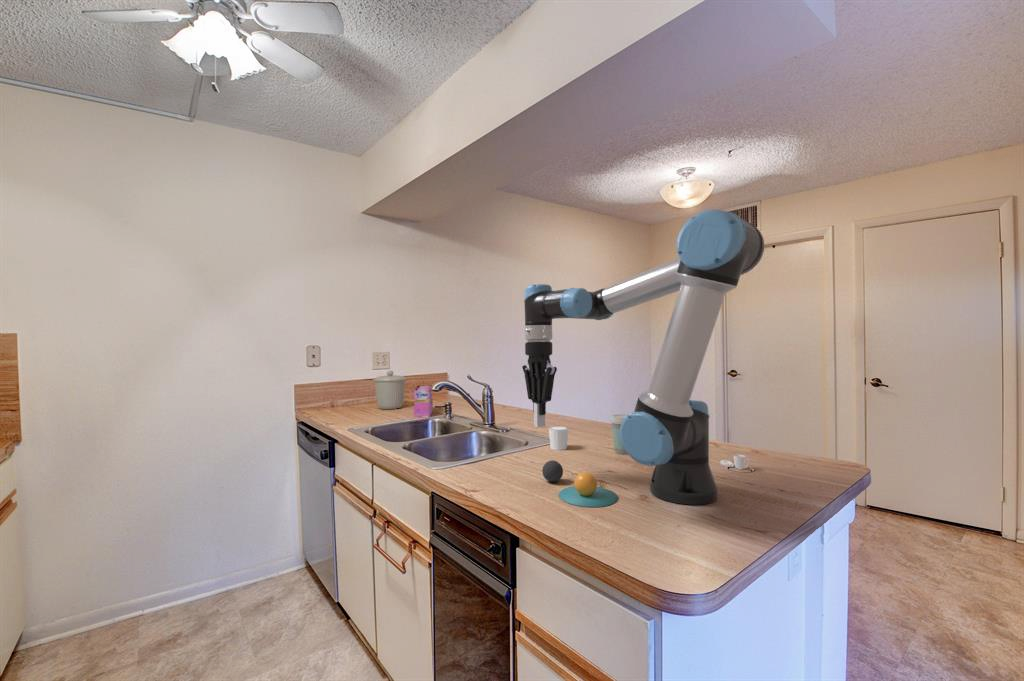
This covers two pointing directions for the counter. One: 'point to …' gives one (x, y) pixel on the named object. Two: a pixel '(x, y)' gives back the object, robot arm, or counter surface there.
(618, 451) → the coffee cup
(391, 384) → the canister
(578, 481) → the orange ball
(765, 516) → the counter surface
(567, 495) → the teal mark
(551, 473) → the dark gray ball
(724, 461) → the teacup and saucer
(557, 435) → the white tapered cylinder
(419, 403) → the gum box
